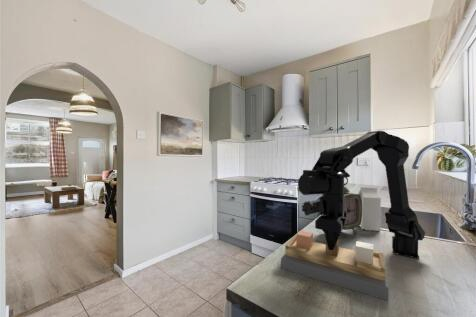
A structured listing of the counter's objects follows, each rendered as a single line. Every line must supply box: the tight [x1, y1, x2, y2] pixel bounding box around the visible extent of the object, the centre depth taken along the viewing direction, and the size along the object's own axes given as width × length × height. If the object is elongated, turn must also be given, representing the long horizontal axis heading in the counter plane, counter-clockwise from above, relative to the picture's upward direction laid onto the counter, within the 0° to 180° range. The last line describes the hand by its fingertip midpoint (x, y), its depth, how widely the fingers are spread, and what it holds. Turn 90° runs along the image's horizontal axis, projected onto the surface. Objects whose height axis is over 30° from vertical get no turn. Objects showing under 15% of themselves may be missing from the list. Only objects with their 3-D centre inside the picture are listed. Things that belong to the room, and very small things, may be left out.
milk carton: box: [357, 186, 382, 232], centre depth 99 cm, size 7×7×19 cm
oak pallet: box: [284, 234, 387, 281], centre depth 62 cm, size 25×10×9 cm, turn 58°
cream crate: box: [355, 240, 374, 265], centre depth 58 cm, size 4×4×4 cm
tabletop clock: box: [324, 177, 362, 239], centre depth 91 cm, size 14×9×25 cm, turn 117°
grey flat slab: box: [280, 252, 389, 301], centre depth 62 cm, size 26×14×3 cm, turn 58°
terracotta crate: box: [296, 230, 314, 250], centre depth 66 cm, size 4×4×4 cm
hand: (332, 246), depth 62 cm, fingers open, 5 cm apart
